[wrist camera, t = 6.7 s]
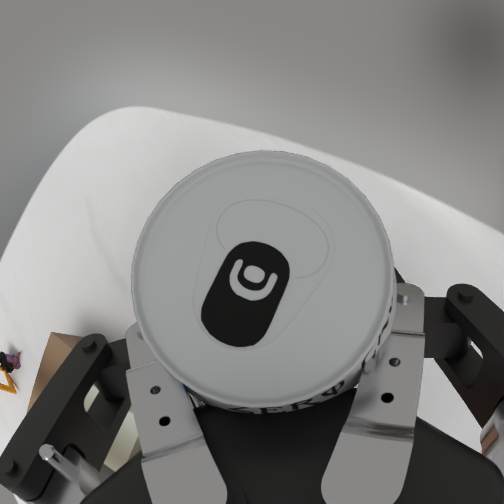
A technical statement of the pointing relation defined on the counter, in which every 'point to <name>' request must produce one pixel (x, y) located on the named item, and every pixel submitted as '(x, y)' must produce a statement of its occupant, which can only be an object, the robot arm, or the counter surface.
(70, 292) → the counter surface
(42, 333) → the counter surface
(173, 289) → the energy drink can
